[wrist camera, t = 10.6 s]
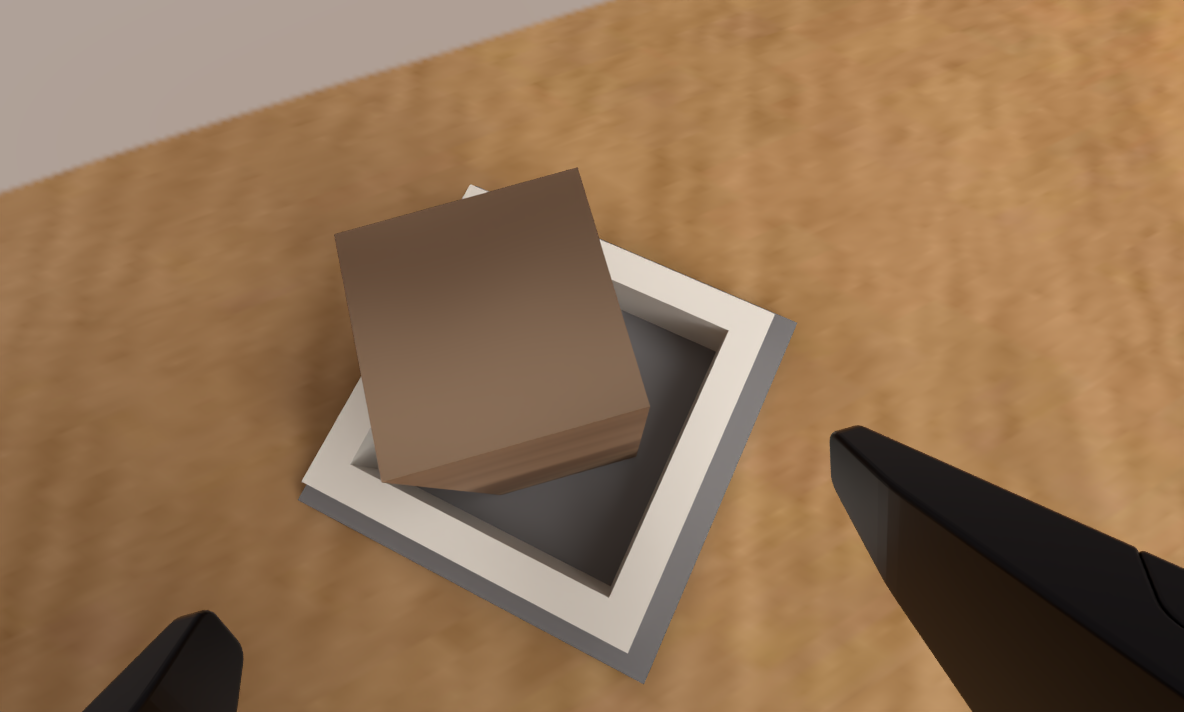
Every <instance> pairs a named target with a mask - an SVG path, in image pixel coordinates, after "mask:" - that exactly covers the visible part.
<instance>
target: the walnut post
mask: <svg viewBox="0 0 1184 712" xmlns="http://www.w3.org/2000/svg"><path fill="white" fill-rule="evenodd" d="M334 236H335V241H336V246H337V252H338V257H339V262H340V267H341V273H342V278H343V283H344V288H345V294H346V299H347V304H348V309H349V315H350V320H351V325H352V330H353V336H354V341H355V346H356V351H357V357H358V362H359V367H360V372H361V378H362V383H363V388H364V393H365V399H366V404H367V409H368V414H369V420H370V425H371V430H372V435H373V441H374V446H375V451H376V456H377V462H378V467H379V472H380V477H381V482H382V483H392V484H401V485H410V486H420V487H429V488H439V489H448V490H458V491H467V492H477V493H486V494H495V495H503V494H506V493H510V492H513V491H517V490H520V489H524V488H527V487H531V486H534V485H538V484H541V483H545V482H548V481H552V480H555V479H559V478H563V477H566V476H570V475H573V474H577V473H580V472H584V471H587V470H591V469H594V468H598V467H601V466H605V465H608V464H612V463H615V462H619V461H622V460H626V459H629V458H633V457H636V456H637V452H638V448H639V445H640V441H641V438H642V434H643V430H644V427H645V423H646V419H647V416H648V412H649V409H650V404H649V401H648V398H647V394H646V391H645V388H644V384H643V381H642V378H641V375H640V371H639V368H638V365H637V361H636V358H635V355H634V352H633V348H632V345H631V342H630V338H629V335H628V332H627V328H626V325H625V322H624V319H623V315H622V312H621V309H620V305H619V302H618V299H617V296H616V292H615V289H614V286H613V282H612V279H611V276H610V273H609V269H608V266H607V263H606V259H605V256H604V253H603V249H602V246H601V243H600V240H599V236H598V233H597V230H596V226H595V223H594V220H593V217H592V213H591V210H590V207H589V203H588V200H587V197H586V194H585V190H584V187H583V184H582V180H581V177H580V174H579V171H578V167H577V168H574V169H570V170H566V171H563V172H559V173H555V174H552V175H548V176H545V177H541V178H537V179H534V180H530V181H526V182H523V183H519V184H515V185H512V186H508V187H505V188H501V189H497V190H494V191H490V192H486V193H483V194H479V195H475V196H472V197H468V198H465V199H461V200H457V201H454V202H450V203H446V204H443V205H439V206H435V207H432V208H428V209H425V210H421V211H417V212H414V213H410V214H406V215H403V216H399V217H395V218H392V219H388V220H385V221H381V222H377V223H374V224H370V225H366V226H363V227H359V228H355V229H352V230H348V231H345V232H341V233H337V234H334Z"/></svg>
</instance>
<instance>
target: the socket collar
mask: <svg viewBox="0 0 1184 712" xmlns="http://www.w3.org/2000/svg"><path fill="white" fill-rule="evenodd" d="M486 192H489V191H487V190H484V189H482V188H480V187H477V186H473V185H471V184H470V186H469V188H468V189H467V191H466V193H465V195H464V196H463V198H462V199H465V198H468V197H472V196H475V195H479V194H483V193H486ZM599 240H600V243H601V246H602V249H603V253H604V256H605V259H606V263H607V266H608V269H609V273H610V276H611V279H612V282H613V286H614V289H615V292H616V296H617V299H618V302H619V305H620V309H621V312H622V315H623V319H624V322H625V325H626V328H627V332H628V335H629V338H630V342H631V345H632V348H633V352H634V355H635V358H636V361H637V365H638V368H639V371H640V375H641V378H642V381H643V384H644V388H645V391H646V394H647V398H648V401H649V404H650V409H649V412H648V416H647V419H646V423H645V427H644V430H643V434H642V438H641V441H640V445H639V448H638V452H637V456H636V457H633V458H629V459H626V460H622V461H619V462H615V463H612V464H608V465H605V466H601V467H598V468H594V469H591V470H587V471H584V472H580V473H577V474H573V475H570V476H566V477H563V478H559V479H555V480H552V481H548V482H545V483H541V484H538V485H534V486H531V487H527V488H524V489H520V490H517V491H513V492H510V493H506V494H503V495H495V494H486V493H477V492H467V491H458V490H448V489H439V488H429V487H420V486H410V485H401V484H392V483H382V482H381V477H380V472H379V467H378V462H377V456H376V451H375V446H374V441H373V435H372V430H371V425H370V420H369V414H368V409H367V404H366V399H365V393H364V388H363V383H362V378H360V379H359V381H358V383H357V385H356V386H355V388H354V390H353V392H352V394H351V395H350V397H349V399H348V401H347V402H346V404H345V406H344V408H343V409H342V411H341V413H340V415H339V416H338V418H337V420H336V422H335V423H334V425H333V427H332V429H331V430H330V432H329V434H328V436H327V438H326V439H325V441H324V443H323V445H322V446H321V448H320V450H319V452H318V453H317V455H316V457H315V459H314V460H313V462H312V464H311V466H310V467H309V469H308V471H307V473H306V474H305V476H304V478H303V480H302V482H303V483H305V484H307V485H306V486H305V488H304V490H303V492H302V494H301V495H300V497H299V499H298V500H299V501H301V502H303V503H305V504H307V505H308V506H310V507H312V508H314V509H316V510H318V511H320V512H322V513H323V514H325V515H327V516H329V517H331V518H333V519H335V520H337V521H338V522H340V523H342V524H344V525H346V526H348V527H350V528H352V529H353V530H355V531H357V532H359V533H361V534H363V535H365V536H367V537H368V538H370V539H372V540H374V541H376V542H378V543H380V544H382V545H383V546H385V547H387V548H389V549H391V550H393V551H395V552H397V553H398V554H400V555H402V556H404V557H406V558H408V559H410V560H412V561H413V562H415V563H417V564H419V565H421V566H423V567H425V568H427V569H428V570H430V571H432V572H434V573H436V574H438V575H440V576H442V577H444V578H445V579H447V580H449V581H451V582H453V583H455V584H457V585H459V586H460V587H462V588H464V589H466V590H468V591H470V592H472V593H474V594H475V595H477V596H479V597H481V598H483V599H485V600H487V601H489V602H490V603H492V604H494V605H496V606H498V607H500V608H502V609H504V610H505V611H507V612H509V613H511V614H513V615H515V616H517V617H519V618H520V619H522V620H524V621H526V622H528V623H530V624H532V625H534V626H535V627H537V628H539V629H541V630H543V631H545V632H547V633H549V634H550V635H552V636H554V637H556V638H558V639H560V640H562V641H564V642H565V643H567V644H569V645H571V646H573V647H575V648H577V649H579V650H580V651H582V652H584V653H586V654H588V655H590V656H592V657H594V658H595V659H597V660H599V661H601V662H603V663H605V664H607V665H609V666H611V667H612V668H614V669H616V670H618V671H620V672H622V673H624V674H626V675H627V676H629V677H631V678H633V679H635V680H637V681H639V682H641V683H642V684H644V683H645V680H646V678H647V675H648V673H649V671H650V668H651V666H652V664H653V661H654V659H655V657H656V654H657V652H658V650H659V647H660V645H661V643H662V640H663V638H664V635H665V633H666V631H667V628H668V626H669V624H670V621H671V619H672V617H673V614H674V612H675V610H676V607H677V605H678V602H679V600H680V598H681V595H682V593H683V591H684V588H685V586H686V584H687V581H688V579H689V577H690V574H691V572H692V570H693V567H694V565H695V562H696V560H697V558H698V555H699V553H700V551H701V548H702V546H703V544H704V541H705V539H706V537H707V534H708V532H709V529H710V527H711V525H712V522H713V520H714V518H715V515H716V513H717V511H718V508H719V506H720V504H721V501H722V499H723V497H724V494H725V492H726V489H727V487H728V485H729V482H730V480H731V478H732V475H733V473H734V471H735V468H736V466H737V464H738V461H739V459H740V456H741V454H742V452H743V449H744V447H745V445H746V442H747V440H748V438H749V435H750V433H751V431H752V428H753V426H754V424H755V421H756V419H757V416H758V414H759V412H760V409H761V407H762V405H763V402H764V400H765V398H766V395H767V393H768V391H769V388H770V386H771V384H772V381H773V379H774V376H775V374H776V372H777V369H778V367H779V365H780V362H781V360H782V358H783V355H784V353H785V351H786V348H787V346H788V343H789V341H790V339H791V336H792V334H793V332H794V329H795V327H796V325H797V323H796V322H794V321H792V320H789V319H787V318H785V317H782V316H780V315H778V314H775V313H773V312H771V311H768V310H766V309H763V308H761V307H759V306H756V305H754V304H752V303H749V302H747V301H745V300H742V299H740V298H738V297H735V296H733V295H731V294H728V293H726V292H724V291H721V290H719V289H717V288H714V287H712V286H710V285H707V284H705V283H702V282H700V281H698V280H695V279H693V278H691V277H688V276H686V275H684V274H681V273H679V272H677V271H674V270H672V269H670V268H667V267H665V266H663V265H660V264H658V263H656V262H653V261H651V260H649V259H646V258H644V257H641V256H639V255H637V254H634V253H632V252H630V251H627V250H625V249H623V248H620V247H618V246H616V245H613V244H611V243H609V242H606V241H604V240H602V239H599Z"/></svg>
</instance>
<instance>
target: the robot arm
mask: <svg viewBox="0 0 1184 712" xmlns="http://www.w3.org/2000/svg"><path fill="white" fill-rule="evenodd" d="M830 464H831V478H832V482H833V485H834V488H835V490H836V492H837V494H838V496H839V498H840V500H841V502H842V504H843V506H844V507H845V509H846V511H847V513H848V515H849V517H850V519H851V521H852V522H853V524H854V526H855V528H856V530H857V532H858V534H859V536H860V537H861V539H862V541H863V543H864V545H865V547H866V549H867V551H868V552H869V554H870V556H871V558H872V560H873V562H874V564H875V566H876V567H877V569H878V571H879V573H880V575H881V576H882V578H883V580H884V582H885V584H886V585H887V587H888V588H889V590H890V591H891V593H892V594H893V596H894V598H895V599H896V601H897V602H898V604H899V605H900V606H901V608H902V609H903V611H904V612H905V614H906V615H907V617H908V618H909V620H910V621H911V623H912V624H913V626H914V627H915V628H916V630H917V631H918V633H919V634H920V636H921V637H922V639H923V640H924V642H925V643H926V645H927V646H928V647H929V649H930V650H931V652H932V653H933V655H934V656H935V658H936V659H937V661H938V662H939V664H940V665H941V667H942V668H943V669H944V671H945V672H946V674H947V675H948V677H949V678H950V680H951V681H952V683H953V684H954V686H955V687H956V689H957V690H958V691H959V693H960V694H961V696H962V697H963V699H964V700H965V702H966V703H967V705H968V706H969V708H970V709H971V710H972V712H1184V568H1182V567H1180V566H1177V565H1175V564H1173V563H1170V562H1168V561H1166V560H1164V559H1161V558H1159V557H1157V556H1155V555H1152V554H1150V553H1148V552H1146V551H1141V552H1138V550H1137V549H1136V548H1135V547H1134V546H1132V545H1129V544H1127V543H1125V542H1123V541H1120V540H1118V539H1116V538H1114V537H1111V536H1109V535H1107V534H1105V533H1102V532H1100V531H1098V530H1096V529H1093V528H1091V527H1089V526H1087V525H1084V524H1082V523H1080V522H1078V521H1075V520H1073V519H1071V518H1069V517H1066V516H1064V515H1062V514H1060V513H1057V512H1055V511H1053V510H1051V509H1048V508H1046V507H1044V506H1042V505H1039V504H1037V503H1035V502H1033V501H1030V500H1028V499H1026V498H1024V497H1021V496H1019V495H1017V494H1015V493H1012V492H1010V491H1008V490H1006V489H1003V488H1001V487H999V486H997V485H994V484H992V483H990V482H988V481H985V480H983V479H981V478H979V477H976V476H974V475H972V474H970V473H967V472H965V471H963V470H961V469H958V468H956V467H954V466H952V465H949V464H947V463H945V462H943V461H940V460H938V459H936V458H934V457H931V456H929V455H927V454H925V453H922V452H920V451H918V450H916V449H913V448H911V447H909V446H907V445H904V444H902V443H900V442H898V441H895V440H893V439H891V438H889V437H886V436H884V435H882V434H880V433H877V432H875V431H873V430H871V429H868V428H866V427H863V426H859V425H857V426H852V427H848V428H845V429H841V430H838V431H835V432H833V433H832V434H831V437H830ZM242 668H243V651H242V647H241V645H240V643H239V642H238V640H237V639H236V638H235V637H234V635H233V634H232V633H231V632H230V631H229V630H228V628H227V627H226V626H225V625H224V624H223V622H222V621H221V620H220V619H219V618H218V617H217V615H216V614H215V613H213V612H211V611H209V610H202V611H198V612H195V613H191V614H188V615H184V616H181V617H179V618H177V619H175V620H174V621H173V622H172V623H170V624H169V625H168V626H167V627H166V628H165V629H164V630H163V631H162V632H161V633H160V634H159V635H158V636H157V637H156V638H155V639H154V640H153V641H152V642H151V643H150V644H149V645H148V646H147V647H146V648H145V649H144V650H143V651H142V652H141V653H140V654H139V655H138V656H137V657H136V658H135V659H134V660H133V661H132V662H131V663H130V664H129V665H128V666H127V667H126V668H125V669H124V670H123V671H122V672H121V673H120V674H119V675H118V676H117V677H116V678H115V679H114V680H113V681H112V682H111V683H110V684H109V685H108V686H107V687H106V688H105V689H104V690H103V691H102V692H101V693H100V694H99V695H98V696H97V697H96V698H95V699H94V700H93V701H92V702H91V703H90V704H89V705H88V706H87V707H86V708H85V709H84V710H83V711H82V712H237V706H238V699H239V691H240V683H241V675H242Z"/></svg>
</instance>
